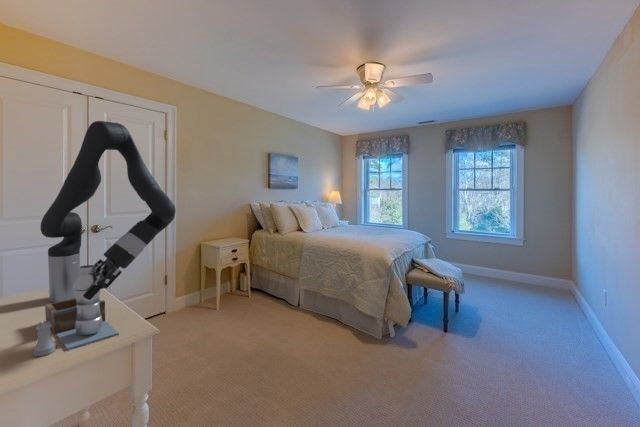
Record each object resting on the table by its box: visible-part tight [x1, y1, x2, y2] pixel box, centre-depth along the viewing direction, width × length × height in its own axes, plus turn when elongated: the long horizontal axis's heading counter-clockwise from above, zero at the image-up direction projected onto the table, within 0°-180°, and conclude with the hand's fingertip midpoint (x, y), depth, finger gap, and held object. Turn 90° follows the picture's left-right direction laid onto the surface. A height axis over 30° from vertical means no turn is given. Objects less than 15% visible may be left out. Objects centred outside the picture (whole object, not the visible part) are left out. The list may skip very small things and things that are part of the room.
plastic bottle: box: [73, 264, 103, 335], centre depth 87 cm, size 6×7×20 cm
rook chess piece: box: [32, 320, 57, 358], centre depth 78 cm, size 4×4×8 cm
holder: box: [44, 298, 106, 336], centre depth 96 cm, size 13×12×7 cm
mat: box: [56, 320, 120, 351], centre depth 88 cm, size 12×12×1 cm
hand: (81, 294), depth 86 cm, fingers open, 8 cm apart
